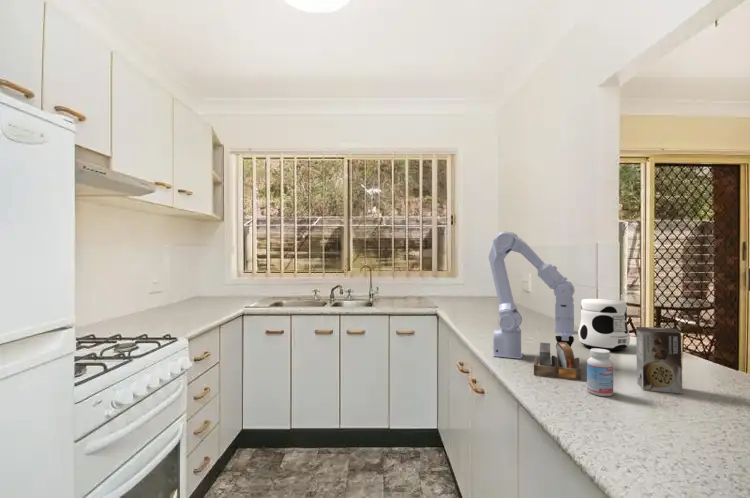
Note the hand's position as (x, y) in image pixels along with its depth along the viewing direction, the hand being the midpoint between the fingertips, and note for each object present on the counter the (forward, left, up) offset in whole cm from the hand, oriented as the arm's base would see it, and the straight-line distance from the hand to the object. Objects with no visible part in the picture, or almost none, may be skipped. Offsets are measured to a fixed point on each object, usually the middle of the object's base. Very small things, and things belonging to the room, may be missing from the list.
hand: (564, 358), depth 138 cm
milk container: (+15, +28, -2) cm, 32 cm away
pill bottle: (+8, -29, -2) cm, 30 cm away
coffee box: (+23, -19, -2) cm, 29 cm away
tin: (0, -11, -2) cm, 11 cm away
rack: (-3, -11, -1) cm, 12 cm away
